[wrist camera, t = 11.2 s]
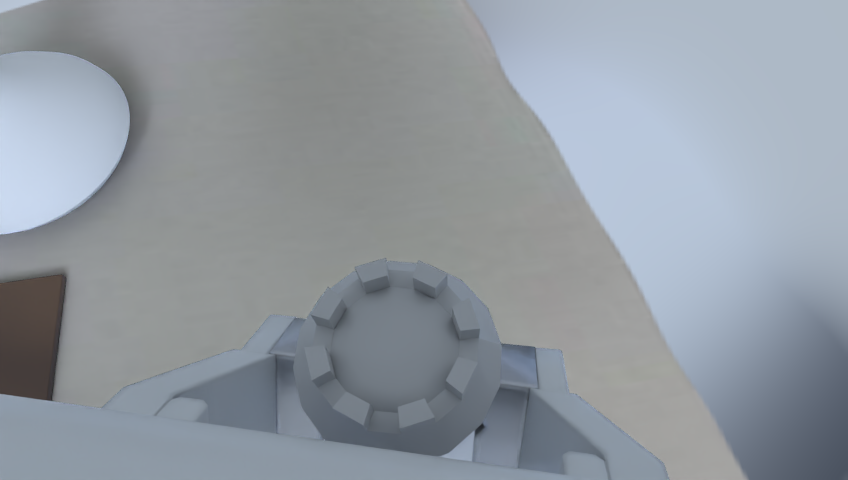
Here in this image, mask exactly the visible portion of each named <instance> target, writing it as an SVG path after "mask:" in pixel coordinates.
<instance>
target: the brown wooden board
mask: <svg viewBox="0 0 848 480" xmlns="http://www.w3.org/2000/svg"><path fill="white" fill-rule="evenodd" d="M65 283H66V277H65V276H64V275H62V274H61V275H54V276H47V277H40V278H33V279H26V280H19V281H12V282H5V283H0V394H5V395H12V396H19V397H26V398H33V399H40V400H47V401H51V399H52V391H53V382H54V374H55V366H56V357H57V349H58V341H59V333H60V324H61V316H62V308H63V299H64V291H65Z"/></svg>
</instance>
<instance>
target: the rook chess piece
mask: <svg viewBox="0 0 848 480" xmlns="http://www.w3.org/2000/svg"><path fill="white" fill-rule="evenodd" d="M355 270H356V271H354V272H352V273H351V274H349V275H348V276H347V277H345V278H344V279H343V280H341V281H340V282H338V283H337V284H336V285H334V286H333V287H332V288H329V287H328V288H327V289H326V291H325V292H324V294H322V295H321V297H320V298H319V300H318V301H317V303H316V305H315V306H314V308H313V309H312V311H311V312H310V314H309V316H308V317H307V319H306V320H305V322H304V323H303V325H302V327H301V328H300V333H299V338H298V343H297V349H296V354H295V359H294V364H293V371H294V375H295V380H296V385H297V389H298V394H299V399H300V403H301V408H302V409H303V410H304V412H305V413H306V415H307V416H308V417H309V419H310V420H311V421H312V423H313V424H314V426H315V427H316V428H317V430H318V431H319V432H320V434H321V435H322V437H323V438H324V439H325V440H326V441H333V442H339V443H346V444H353V445H360V446H367V447H374V448H381V449H388V450H395V451H402V452H409V453H416V454H423V455H430V456H437V457H444V458H451V459H457V460H464V461H471V462H472V451H473V440H474V430H476V429H477V428H478V427H479V426H480V425H481V424H482V422H483V420H484V418H485V416H486V414H487V412H488V410H489V408H490V406H491V403H492V401H493V399H494V397H495V395H496V393H497V391H498V389H499V387H500V372H501V350H502V345H501V342H500V339H499V337H498V334H497V331H496V328H495V326H494V323H493V320H492V318H491V315H490V312H489V310H488V308H487V307H486V306H485V305H484V303H483V302H482V301H481V300H480V299H479V298H478V297H477V296H476V295H475V294H474V293H473V292H472V291H471V289H470V288H469V287H468V286H467V285H466V284H465V283H464V282H463V281H462V280H460V279H458V278H456V277H454V276H452V275H450V274H448V273H446V272H444V271H441V270H439V269H437V268H435V267H433V266H431V265H429V264H425V263H423V262H421V261H419V260H418V263H408V262H395V261H388V262H387V260H386V258H384V259H380V260H377V261H373V262H370V263H367V264H363V265H360V266H356V267H355Z"/></svg>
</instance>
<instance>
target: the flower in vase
mask: <svg viewBox="0 0 848 480" xmlns="http://www.w3.org/2000/svg"><path fill="white" fill-rule="evenodd" d="M129 127H130V112H129V106H128V102H127V99H126V96H125V94H124V92H123V90H122V89H121V87H120V85H119V84H118V83H117V82H116V81H115V79H114V78H113V77H112V76H110V75H109V74H108V73H107V72H106V71H104V70H102V69H101V68H99V67H97V66H95V65H94V64H92V63H90V62H88V61H87V60H84V59H82V58H79V57H77V56H74V55H70V54H66V53H59V52H46V51H23V52H14V53H8V54H3V55H0V234H9V233H16V232H21V231H27V230H31V229H34V228H37V227H40V226H43V225H46V224H48V223H50V222H53V221H55V220H57V219H59V218H61V217H63V216H65V215H67V214H69V213H70V212H72V211H73V210H75V209H76V208H78V207H79V206H81V205H82V204H83V203H85V202H86V201H87V200H88V199H89V198H91V197H92V196H93V195H94V194H95V193H96V192H97V191H98V190H99V189H100V188H101V187H102V186H103V185H104V183H105V182H106V181H107V180H108V179H109V177H110V176H111V175H112V173H113V171H114V170H115V168H116V167H117V165H118V163H119V161H120V159H121V157H122V155H123V152H124V149H125V146H126V142H127V138H128V133H129Z"/></svg>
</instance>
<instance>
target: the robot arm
mask: <svg viewBox="0 0 848 480" xmlns="http://www.w3.org/2000/svg"><path fill="white" fill-rule="evenodd" d="M305 320H306V319H303V318H296V317H293V316H282V315H270V316H269V317H268V318H267V319H266V320H265V322H264V323H263V324H262V325H261V326H260V328H259V329H258V330H257V331H256V332H255V334H254V335H253V336H252V337H251V338H250V340H249V341H248V342H247V343H246V344H245V346H244V347H243V348H242V349H241V350H236V349H233V350H230V351H227V352H224V353H221V354H218V355H215V356H212V357H210V358H207V359H204V360H201V361H198V362H195V363H192V364H189V365H186V366H183V367H181V368H178V369H175V370H172V371H169V372H166V373H163V374H160V375H157V376H155V377H152V378H149V379H146V380H143V381H140V382H137V383H134V384H131V385H128V386H126V387H123V388H122V389H121V390H120V391H119V392H118V393H117V394H116V395H115V396H114V397H113V398H112V399H110V400H109V401H108V402H107V403H106V404H105V405H104V406H103V407H102V408H96V407H89V406H82V405H75V404H68V403H61V402H54V401H47V400H40V399H33V398H26V397H19V396H12V395H5V394H0V480H670V479H669V477H668V474H667V471H666V468H665V465H664V463H663V462H662V461H660V460H659V459H658V458H657V457H655V456H654V455H653V454H652V453H650V452H649V451H648V450H647V449H645V448H644V447H643V446H641V445H640V444H639V443H638V442H636V441H635V440H634V439H633V438H631V437H630V436H629V435H628V434H626V433H625V432H624V431H622V430H621V429H620V428H619V427H617V426H616V425H615V424H614V423H612V422H611V421H610V420H609V419H607V418H606V417H605V416H604V415H602V414H601V413H600V412H598V411H597V410H596V409H595V408H593V407H592V406H591V405H590V404H588V403H587V402H586V401H585V400H583V399H582V398H581V397H579V396H578V395H577V394H572V393H569V389H568V383H567V377H566V372H565V366H564V360H563V354H562V351H561V350H559V349H545V348H535V347H531V346H521V345H511V344H501V345H502V350H501V372H500V387H499V389H498V391H497V393H496V395H495V397H494V399H493V401H492V403H491V406H490V408H489V410H488V412H487V414H486V416H485V418H484V420H483V422H482V424H481V425H480V426H479V427H478V428H477V429H476V430H474V440H473V451H472V462H471V461H464V460H457V459H451V458H444V457H437V456H430V455H423V454H416V453H409V452H402V451H395V450H388V449H381V448H374V447H367V446H360V445H353V444H346V443H339V442H333V441H326V440H324V438H323V437H322V435H321V434H320V432H319V431H318V430H317V428H316V427H315V426H314V424H313V423H312V421H311V420H310V419H309V417H308V416H307V415H306V413H305V412H304V410H303V409H302V408H301V403H300V399H299V394H298V389H297V385H296V380H295V375H294V371H293V364H294V359H295V354H296V349H297V343H298V338H299V333H300V328H301V327H302V325H303V323H304V322H305Z"/></svg>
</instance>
